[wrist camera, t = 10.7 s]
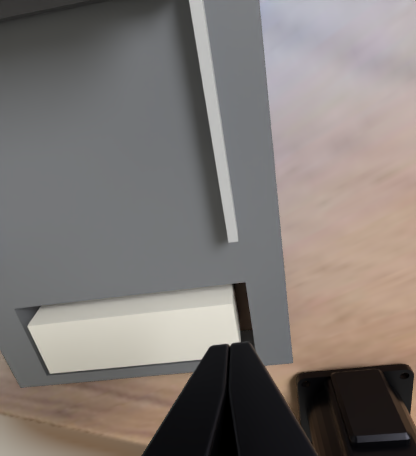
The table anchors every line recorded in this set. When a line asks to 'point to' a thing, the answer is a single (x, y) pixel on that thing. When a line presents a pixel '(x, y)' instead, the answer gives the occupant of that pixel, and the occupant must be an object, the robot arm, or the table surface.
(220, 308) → the button white
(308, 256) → the table surface
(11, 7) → the slider paddle
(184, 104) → the panel
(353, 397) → the robot arm
